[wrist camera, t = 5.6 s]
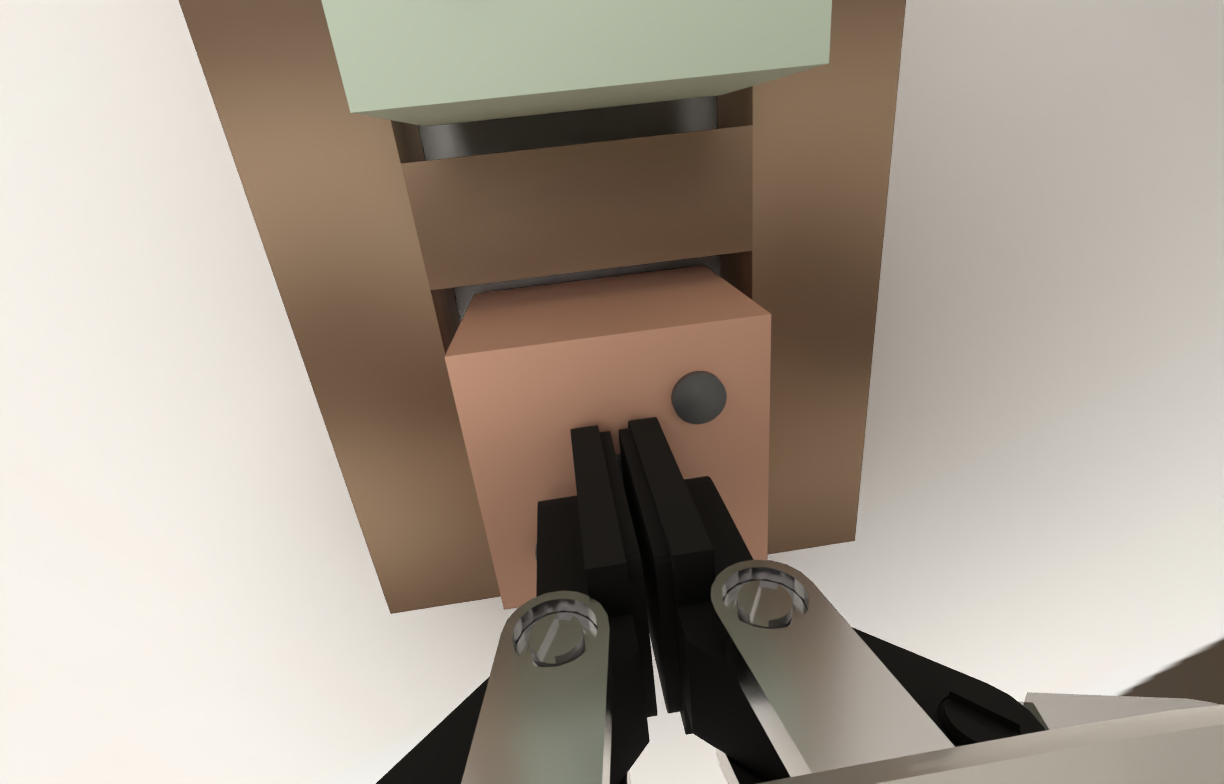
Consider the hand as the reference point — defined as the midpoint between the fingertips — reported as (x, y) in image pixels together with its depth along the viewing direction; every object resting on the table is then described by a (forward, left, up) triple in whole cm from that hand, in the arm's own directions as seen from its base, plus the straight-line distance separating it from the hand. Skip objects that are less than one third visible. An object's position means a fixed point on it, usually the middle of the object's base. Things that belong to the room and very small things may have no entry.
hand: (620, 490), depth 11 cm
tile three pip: (0, 0, -5) cm, 5 cm away
